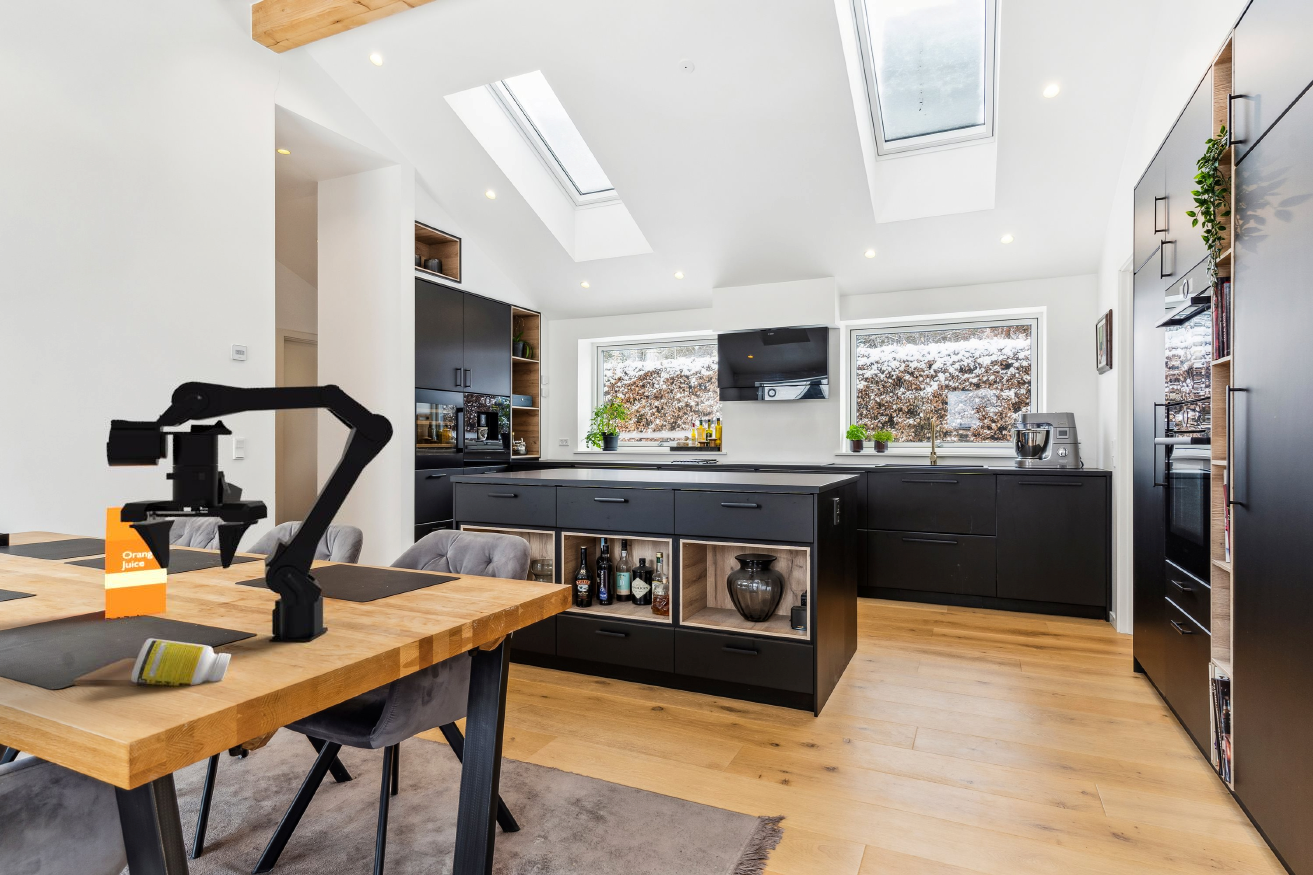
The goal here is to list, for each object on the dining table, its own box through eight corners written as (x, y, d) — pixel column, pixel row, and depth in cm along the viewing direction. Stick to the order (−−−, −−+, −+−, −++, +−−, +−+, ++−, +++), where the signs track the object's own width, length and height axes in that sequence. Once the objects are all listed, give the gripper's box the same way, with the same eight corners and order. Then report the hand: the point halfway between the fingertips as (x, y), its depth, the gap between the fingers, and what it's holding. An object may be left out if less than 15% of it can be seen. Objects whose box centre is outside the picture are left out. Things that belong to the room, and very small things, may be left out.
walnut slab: (181, 676, 93) (181, 658, 93) (136, 699, 85) (136, 679, 85) (124, 676, 93) (124, 658, 93) (74, 698, 85) (74, 679, 85)
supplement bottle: (126, 686, 82) (217, 694, 86) (142, 641, 83) (231, 651, 87) (135, 677, 87) (221, 686, 91) (150, 634, 88) (234, 645, 92)
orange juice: (106, 613, 124) (106, 506, 124) (165, 606, 130) (165, 503, 130) (104, 622, 118) (104, 509, 118) (166, 614, 123) (166, 506, 123)
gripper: (286, 463, 109) (286, 558, 110) (170, 463, 109) (170, 558, 109) (245, 466, 98) (245, 572, 98) (117, 466, 98) (117, 572, 98)
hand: (195, 568), depth 101 cm, fingers open, 9 cm apart
